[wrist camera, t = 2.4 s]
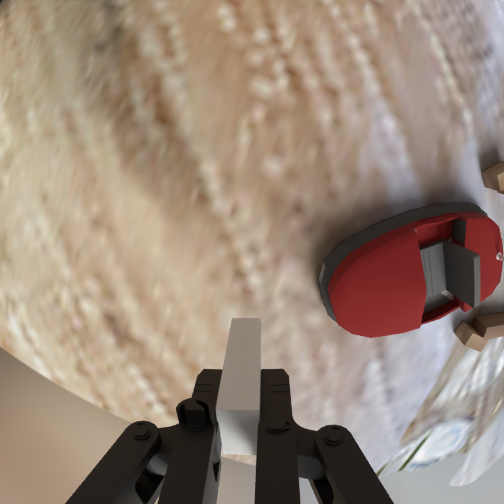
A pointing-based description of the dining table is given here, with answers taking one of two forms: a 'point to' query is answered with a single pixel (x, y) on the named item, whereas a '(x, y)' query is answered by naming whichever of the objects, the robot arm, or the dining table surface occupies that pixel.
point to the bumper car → (412, 269)
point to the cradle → (488, 325)
